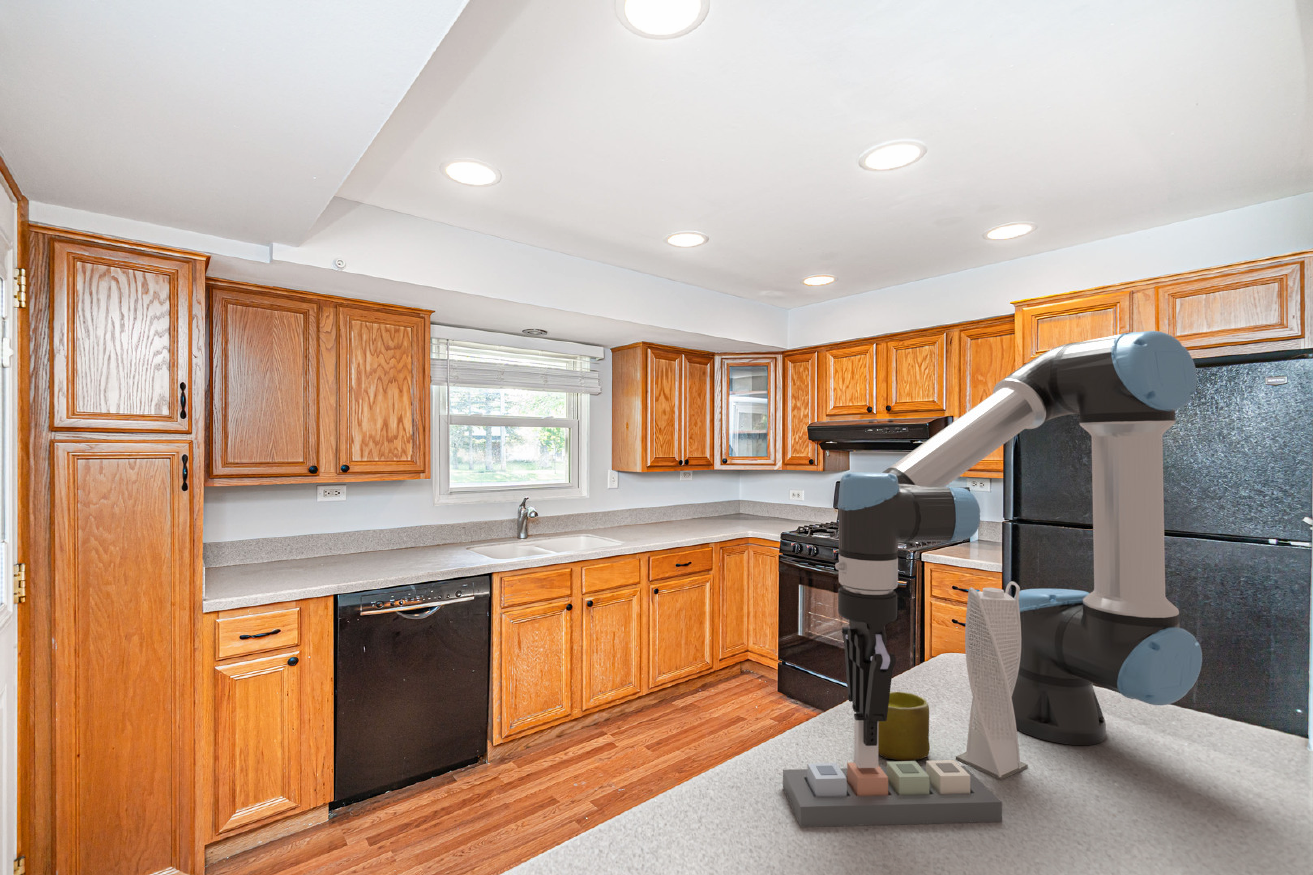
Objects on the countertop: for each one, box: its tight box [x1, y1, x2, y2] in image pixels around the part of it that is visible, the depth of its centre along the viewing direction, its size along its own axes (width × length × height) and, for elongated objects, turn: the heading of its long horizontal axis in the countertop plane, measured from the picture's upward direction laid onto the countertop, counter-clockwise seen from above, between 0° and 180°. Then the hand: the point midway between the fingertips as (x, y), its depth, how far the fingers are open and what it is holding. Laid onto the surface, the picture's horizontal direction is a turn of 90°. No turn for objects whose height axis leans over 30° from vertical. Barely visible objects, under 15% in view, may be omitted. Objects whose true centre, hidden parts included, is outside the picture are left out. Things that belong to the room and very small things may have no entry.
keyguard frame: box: [782, 765, 1003, 828], centre depth 84 cm, size 26×9×2 cm, turn 93°
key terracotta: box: [846, 761, 888, 796], centre depth 84 cm, size 4×4×3 cm
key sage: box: [886, 760, 929, 795], centre depth 84 cm, size 4×4×3 cm
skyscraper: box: [955, 580, 1029, 781], centre depth 94 cm, size 8×8×28 cm
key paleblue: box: [806, 762, 847, 797], centre depth 84 cm, size 4×4×3 cm
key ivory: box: [925, 759, 970, 794], centre depth 85 cm, size 4×4×3 cm
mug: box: [878, 690, 931, 761], centre depth 100 cm, size 12×10×10 cm
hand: (866, 764), depth 84 cm, fingers closed
